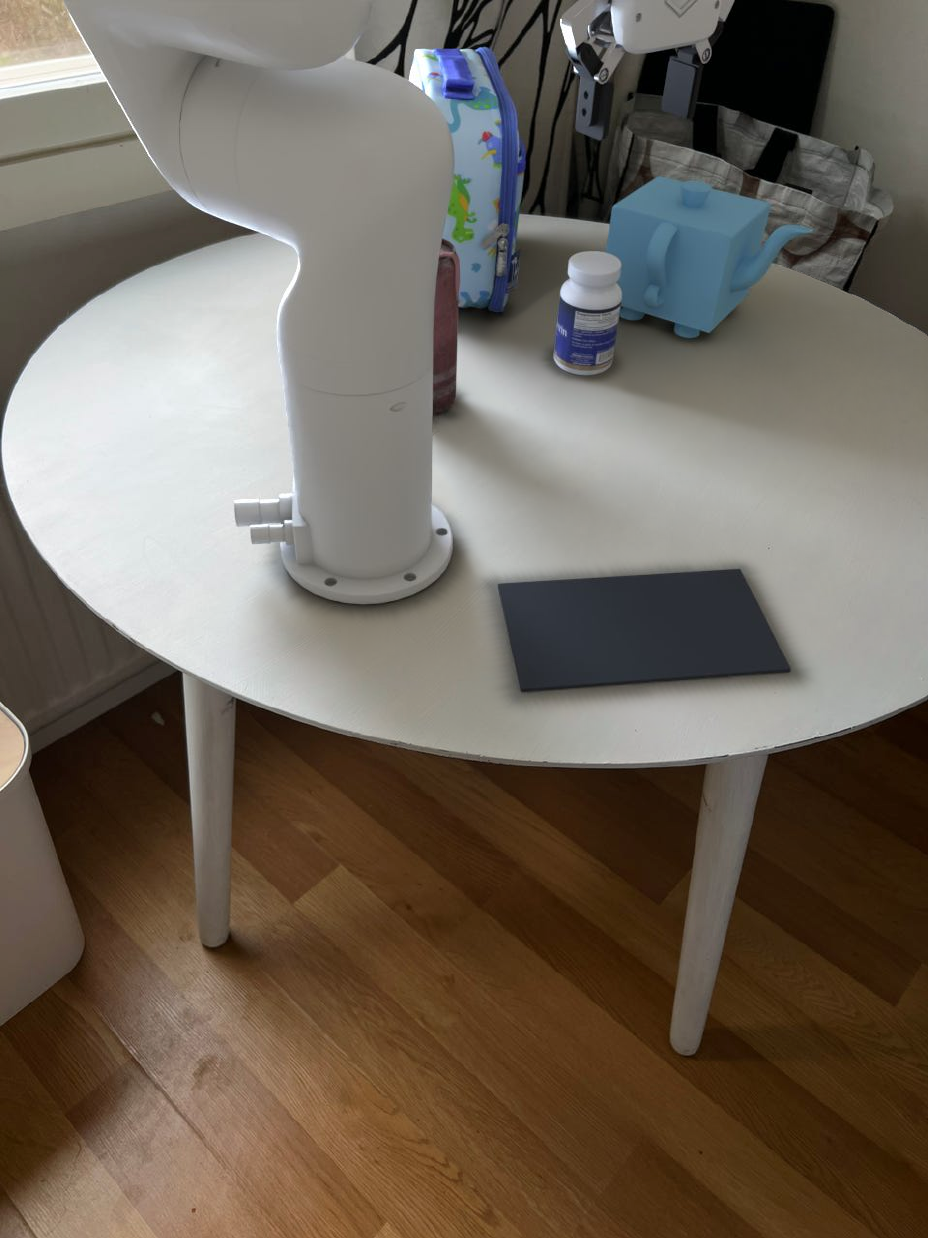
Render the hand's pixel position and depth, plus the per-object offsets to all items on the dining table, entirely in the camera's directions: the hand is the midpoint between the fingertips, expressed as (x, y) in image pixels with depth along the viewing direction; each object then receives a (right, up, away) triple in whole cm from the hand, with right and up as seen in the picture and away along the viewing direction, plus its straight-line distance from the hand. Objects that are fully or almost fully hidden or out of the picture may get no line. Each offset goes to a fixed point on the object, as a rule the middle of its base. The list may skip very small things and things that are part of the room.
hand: (635, 124), depth 75 cm
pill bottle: (-2, -16, +14) cm, 21 cm away
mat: (-2, -41, -12) cm, 43 cm away
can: (-18, -21, +8) cm, 28 cm away
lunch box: (-15, -2, +27) cm, 31 cm away
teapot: (+10, -9, +21) cm, 25 cm away
